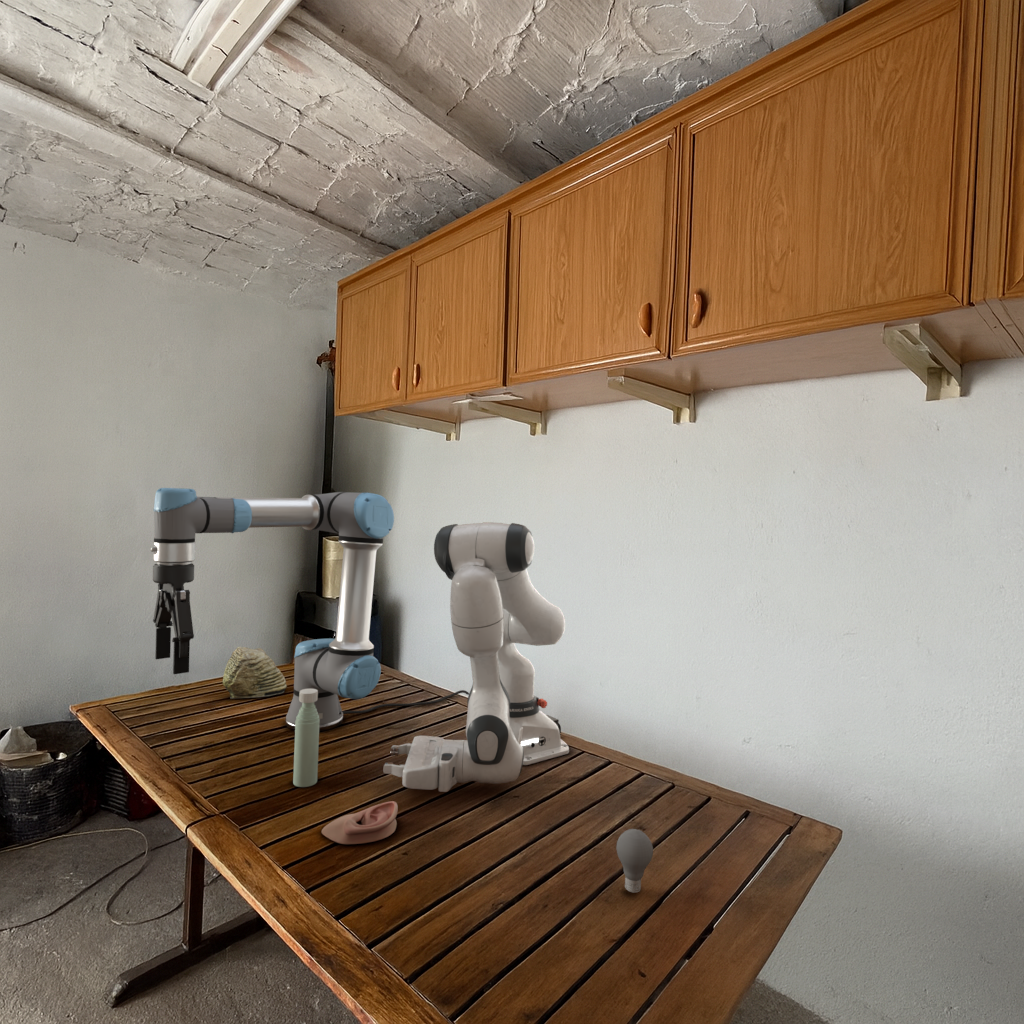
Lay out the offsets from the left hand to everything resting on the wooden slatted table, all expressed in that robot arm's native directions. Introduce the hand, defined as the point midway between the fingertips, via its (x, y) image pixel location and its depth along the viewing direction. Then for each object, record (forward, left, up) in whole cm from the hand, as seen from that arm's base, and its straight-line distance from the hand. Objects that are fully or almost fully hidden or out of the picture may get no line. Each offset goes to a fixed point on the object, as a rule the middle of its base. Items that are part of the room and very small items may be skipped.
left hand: (171, 665), depth 131 cm
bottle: (-23, +15, -27) cm, 39 cm away
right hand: (-34, +29, -21) cm, 49 cm away
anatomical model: (-19, +40, -27) cm, 52 cm away
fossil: (-46, -49, -27) cm, 73 cm away
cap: (-23, +15, -7) cm, 28 cm away
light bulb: (-37, +88, -27) cm, 99 cm away
